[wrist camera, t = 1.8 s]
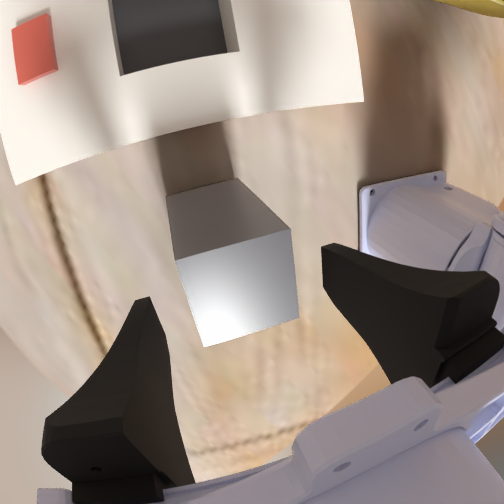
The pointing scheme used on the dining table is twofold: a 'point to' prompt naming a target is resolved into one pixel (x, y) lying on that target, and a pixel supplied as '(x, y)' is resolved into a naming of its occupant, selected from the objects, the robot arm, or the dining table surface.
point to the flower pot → (479, 6)
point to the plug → (232, 260)
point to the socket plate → (160, 69)
